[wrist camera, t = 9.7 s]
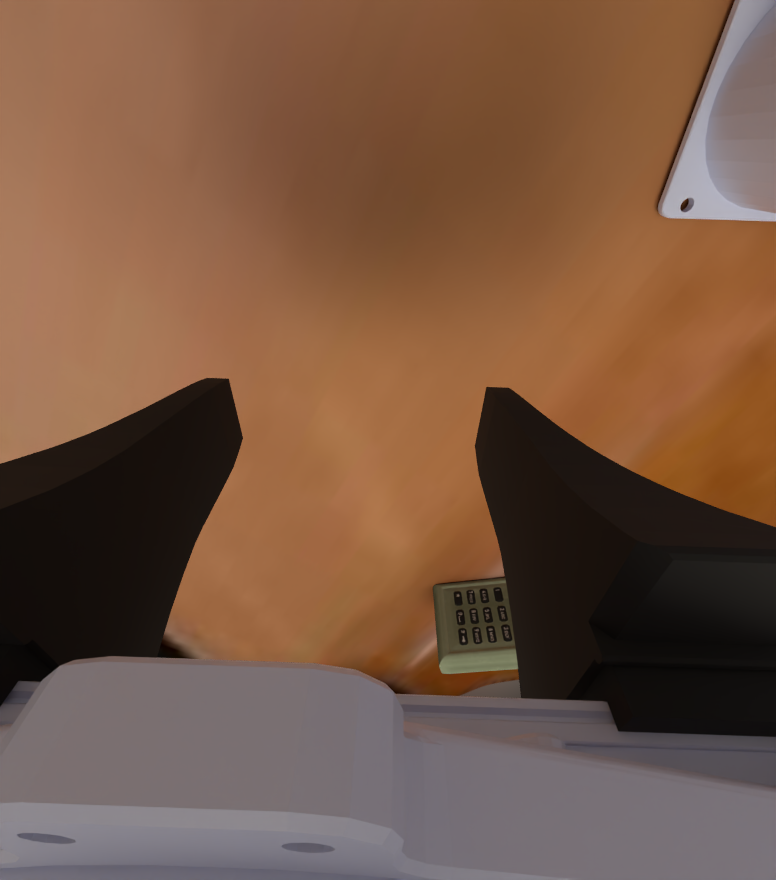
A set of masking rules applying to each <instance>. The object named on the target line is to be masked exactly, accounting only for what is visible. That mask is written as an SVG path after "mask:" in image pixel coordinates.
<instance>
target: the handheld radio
mask: <svg viewBox="0 0 776 880" xmlns="http://www.w3.org/2000/svg"><path fill="white" fill-rule="evenodd" d="M433 596H434V608H435V621H436V633H437V646H438V659H439V667H440V669H441V672H442V673H445V674H453V673H467V672H481V671H495V670H509V669H518V663H517V656H516V648H515V640H514V633H513V625H512V618H511V611H510V605H509V598H508V592H507V585H506V579H505V578H496V579H486V580H476V581H467V582H457V583H447V584H438V585H434V586H433Z"/></svg>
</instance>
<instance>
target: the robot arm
mask: <svg viewBox="0 0 776 880" xmlns="http://www.w3.org/2000/svg"><path fill="white" fill-rule="evenodd" d="M687 198H688V199H689V203H688V205H687V207H686V208H685V209H684V210H682V211H681V209H680V207H681V204H682V202H683V201H684V200H685V199H687ZM658 212H659V214H660V215H661V216H663V217H667V218H682V219H714V220H746V221H776V0H735V1H734V4H733V7H732V9H731V12H730V15H729V17H728V20H727V23H726V25H725V28H724V31H723V33H722V36H721V39H720V41H719V44H718V47H717V49H716V52H715V55H714V57H713V60H712V63H711V65H710V68H709V71H708V73H707V76H706V79H705V81H704V84H703V87H702V89H701V92H700V95H699V97H698V100H697V103H696V105H695V108H694V111H693V114H692V116H691V119H690V122H689V124H688V127H687V130H686V132H685V135H684V138H683V140H682V143H681V146H680V148H679V151H678V154H677V156H676V159H675V162H674V164H673V167H672V170H671V172H670V175H669V178H668V180H667V183H666V186H665V188H664V191H663V194H662V196H661V199H660V202H659V205H658ZM242 439H243V436H242V432H241V428H240V424H239V420H238V416H237V412H236V407H235V403H234V399H233V395H232V391H231V387H230V383H229V379H220V378H206V379H203V380H200V381H198V382H195V383H193V384H191V385H189V386H187V387H185V388H183V389H181V390H179V391H177V392H175V393H173V394H171V395H169V396H167V397H165V398H163V399H161V400H159V401H158V402H156V403H154V404H152V405H150V406H148V407H146V408H144V409H142V410H140V411H138V412H136V413H133V414H131V415H129V416H127V417H125V418H123V419H121V420H119V421H116V422H114V423H112V424H110V425H108V426H106V427H104V428H101V429H99V430H97V431H94V432H92V433H89V434H87V435H84V436H82V437H79V438H77V439H74V440H71V441H69V442H66V443H63V444H61V445H58V446H55V447H52V448H49V449H46V450H43V451H40V452H37V453H33V454H30V455H27V456H24V457H21V458H18V459H15V460H11V461H8V462H5V463H2V464H0V880H776V527H773V526H770V525H767V524H764V523H761V522H758V521H755V520H752V519H749V518H746V517H743V516H740V515H737V514H733V513H730V512H727V511H724V510H722V509H719V508H716V507H714V506H711V505H708V504H706V503H703V502H701V501H698V500H696V499H693V498H690V497H688V496H685V495H683V494H680V493H678V492H676V491H673V490H671V489H669V488H666V487H664V486H662V485H660V484H658V483H655V482H653V481H651V480H649V479H647V478H645V477H643V476H641V475H638V474H636V473H634V472H632V471H630V470H628V469H626V468H625V467H623V466H621V465H619V464H617V463H615V462H614V461H612V460H610V459H608V458H607V457H605V456H603V455H601V454H600V453H598V452H596V451H595V450H593V449H591V448H590V447H588V446H586V445H585V444H583V443H582V442H581V441H579V440H578V439H576V438H575V437H573V436H572V435H570V434H569V433H567V432H566V431H565V430H563V429H562V428H560V427H559V426H558V425H556V424H555V423H554V422H552V421H551V420H550V419H548V418H547V417H546V416H545V415H543V414H542V413H541V412H539V411H538V410H537V409H536V408H534V407H533V406H532V405H531V404H529V403H528V402H527V401H526V400H524V399H523V398H522V397H521V396H519V395H518V394H517V393H515V392H514V391H513V390H511V389H510V388H498V387H486V392H485V398H484V403H483V408H482V413H481V418H480V423H479V428H478V433H477V438H476V443H475V449H476V457H477V465H478V471H479V477H480V480H481V484H482V487H483V491H484V494H485V498H486V501H487V505H488V508H489V512H490V515H491V518H492V522H493V525H494V529H495V532H496V535H497V539H498V543H499V547H500V551H501V556H502V562H503V568H504V573H505V579H506V585H507V592H508V598H509V605H510V611H511V618H512V625H513V633H514V640H515V648H516V656H517V663H518V672H519V682H520V691H521V698H494V697H467V696H438V695H409V694H394V692H393V691H392V690H391V689H390V688H389V687H388V686H387V685H386V684H385V683H383V682H381V681H379V680H377V679H375V678H372V677H370V676H368V675H366V674H364V673H362V672H360V671H358V670H355V669H348V668H342V667H335V666H329V665H322V664H316V663H294V662H265V661H236V660H207V659H178V658H157V655H158V651H159V648H160V645H161V641H162V638H163V635H164V632H165V628H166V625H167V622H168V618H169V615H170V612H171V609H172V606H173V603H174V600H175V597H176V594H177V591H178V588H179V585H180V583H181V580H182V577H183V574H184V571H185V569H186V566H187V563H188V561H189V558H190V555H191V553H192V550H193V547H194V545H195V542H196V540H197V538H198V536H199V534H200V532H201V529H202V527H203V525H204V524H205V522H206V520H207V518H208V516H209V514H210V512H211V510H212V508H213V506H214V504H215V502H216V500H217V499H218V497H219V495H220V493H221V491H222V489H223V487H224V485H225V483H226V481H227V479H228V477H229V475H230V473H231V471H232V469H233V467H234V464H235V461H236V458H237V456H238V452H239V449H240V446H241V443H242Z"/></svg>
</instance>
